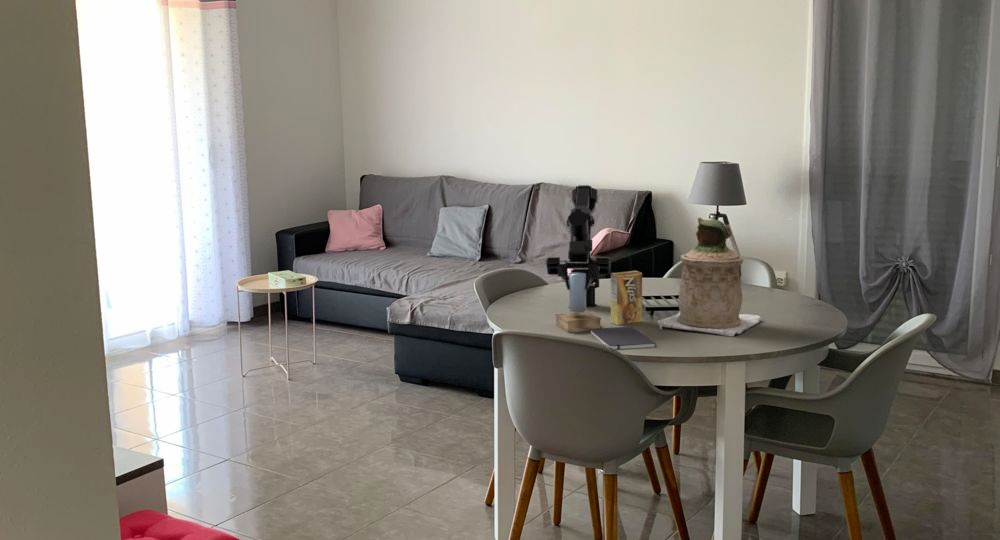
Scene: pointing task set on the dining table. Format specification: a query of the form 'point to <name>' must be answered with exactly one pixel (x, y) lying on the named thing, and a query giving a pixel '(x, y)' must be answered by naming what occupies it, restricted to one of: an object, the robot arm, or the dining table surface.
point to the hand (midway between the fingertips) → (577, 289)
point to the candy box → (626, 297)
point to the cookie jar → (711, 286)
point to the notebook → (622, 337)
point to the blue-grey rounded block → (577, 292)
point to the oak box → (577, 321)
